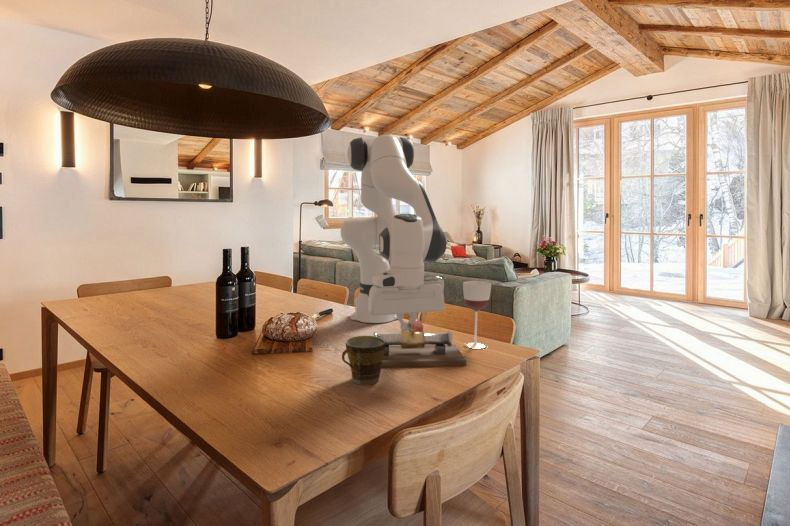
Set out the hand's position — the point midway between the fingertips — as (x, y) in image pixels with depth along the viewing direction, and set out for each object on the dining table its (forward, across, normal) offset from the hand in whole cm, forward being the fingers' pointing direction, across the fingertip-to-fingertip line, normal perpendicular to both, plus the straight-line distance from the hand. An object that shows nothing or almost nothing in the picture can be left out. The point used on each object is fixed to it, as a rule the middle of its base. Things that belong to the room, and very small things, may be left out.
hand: (406, 329), depth 119 cm
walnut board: (+11, -5, -9) cm, 15 cm away
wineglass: (+11, -28, -14) cm, 33 cm away
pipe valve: (+10, -5, -9) cm, 14 cm away
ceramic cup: (+11, +13, +4) cm, 18 cm away
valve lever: (+2, -4, -3) cm, 5 cm away
